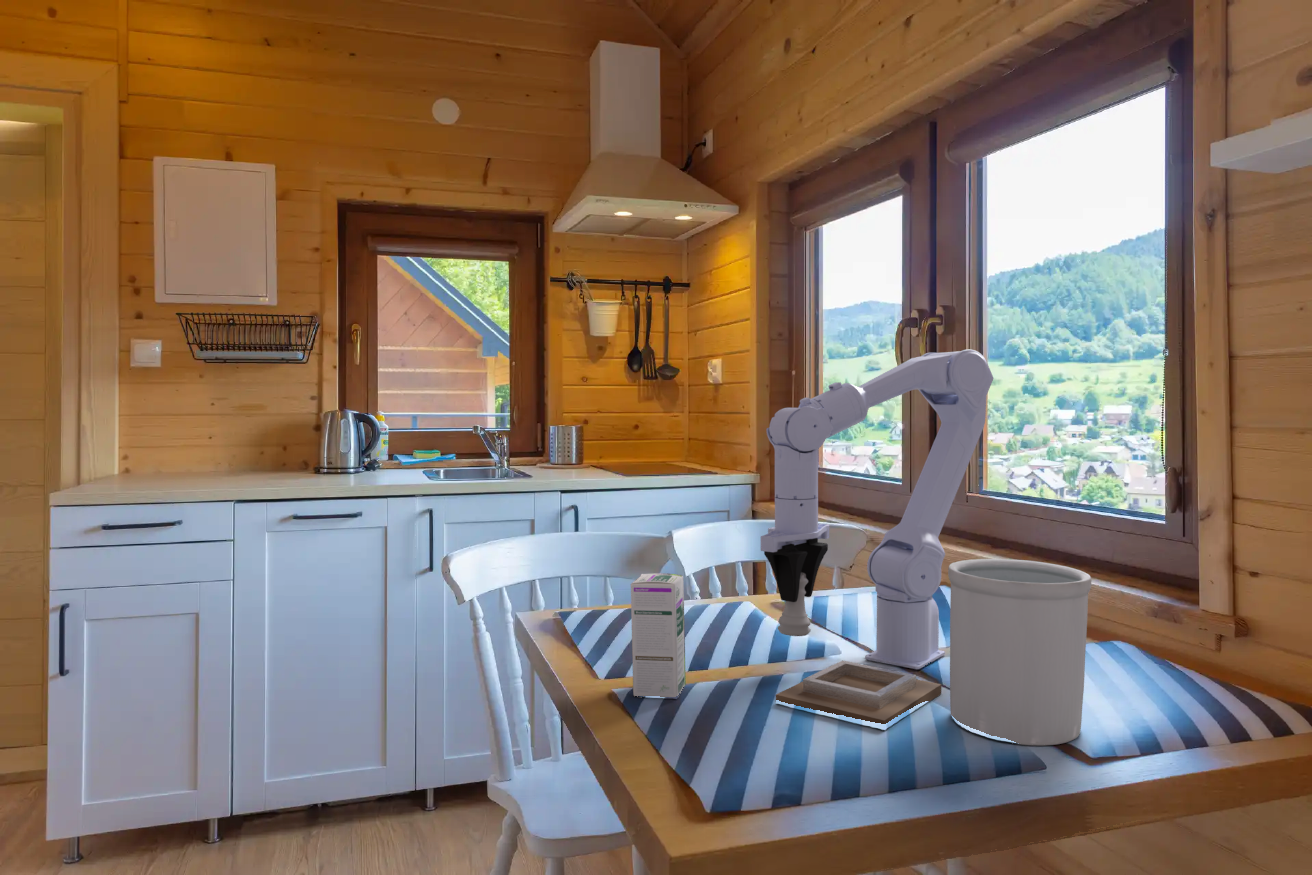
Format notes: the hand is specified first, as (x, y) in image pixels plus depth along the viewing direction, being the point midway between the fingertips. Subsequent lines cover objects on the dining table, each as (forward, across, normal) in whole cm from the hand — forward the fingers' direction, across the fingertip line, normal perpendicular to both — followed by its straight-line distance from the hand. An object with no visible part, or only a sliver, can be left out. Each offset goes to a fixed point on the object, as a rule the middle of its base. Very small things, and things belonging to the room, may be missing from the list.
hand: (796, 598), depth 121 cm
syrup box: (+10, +18, -9) cm, 23 cm away
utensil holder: (+10, +2, +29) cm, 31 cm away
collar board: (+10, +5, +12) cm, 16 cm away
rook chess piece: (+5, 0, 0) cm, 5 cm away
